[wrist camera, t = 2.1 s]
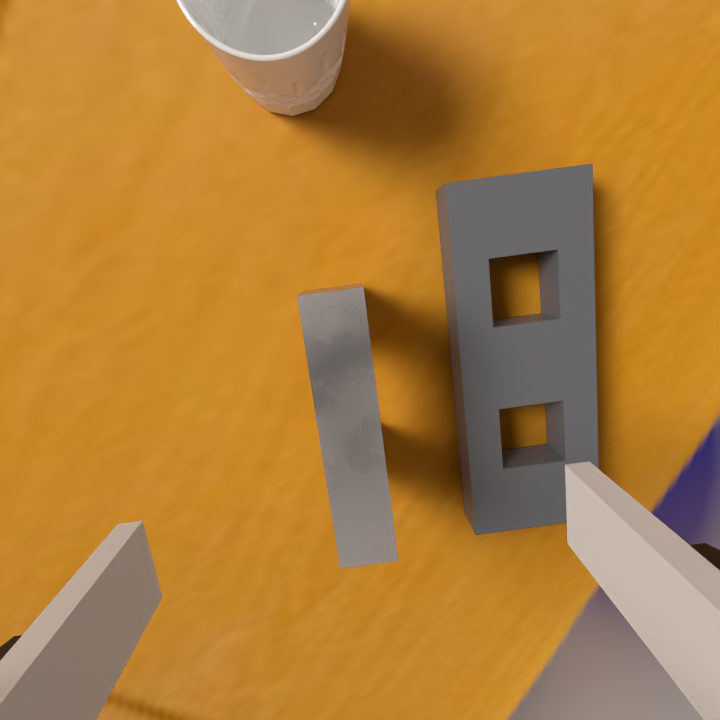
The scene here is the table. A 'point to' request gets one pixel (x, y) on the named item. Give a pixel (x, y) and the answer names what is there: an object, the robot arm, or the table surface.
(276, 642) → the table surface
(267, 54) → the white cup
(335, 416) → the light gray u-shaped block
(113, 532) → the robot arm
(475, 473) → the grey slotted base plate
